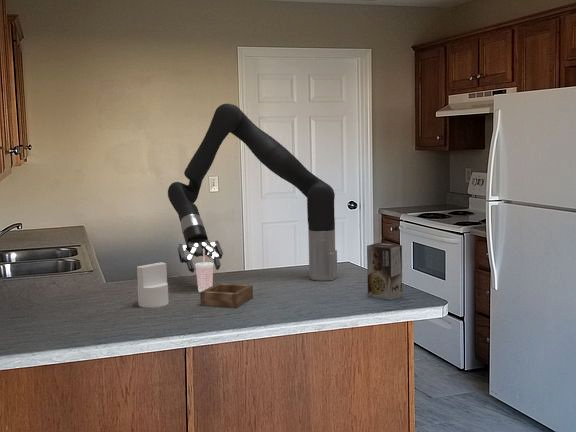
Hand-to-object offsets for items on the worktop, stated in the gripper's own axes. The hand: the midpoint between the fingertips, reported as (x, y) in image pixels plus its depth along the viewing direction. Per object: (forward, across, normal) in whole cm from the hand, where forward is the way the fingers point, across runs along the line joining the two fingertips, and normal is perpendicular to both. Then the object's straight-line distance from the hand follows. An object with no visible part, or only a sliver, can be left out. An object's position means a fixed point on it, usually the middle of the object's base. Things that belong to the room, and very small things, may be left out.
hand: (205, 269), depth 214 cm
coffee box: (+30, +46, -19) cm, 58 cm away
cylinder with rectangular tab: (+10, -19, +1) cm, 22 cm away
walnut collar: (+16, +1, -6) cm, 17 cm away
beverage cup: (+4, 0, +6) cm, 8 cm away
